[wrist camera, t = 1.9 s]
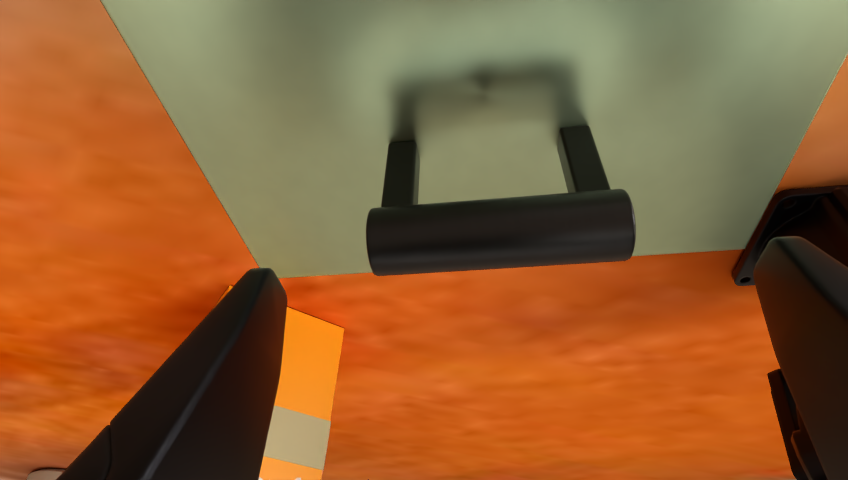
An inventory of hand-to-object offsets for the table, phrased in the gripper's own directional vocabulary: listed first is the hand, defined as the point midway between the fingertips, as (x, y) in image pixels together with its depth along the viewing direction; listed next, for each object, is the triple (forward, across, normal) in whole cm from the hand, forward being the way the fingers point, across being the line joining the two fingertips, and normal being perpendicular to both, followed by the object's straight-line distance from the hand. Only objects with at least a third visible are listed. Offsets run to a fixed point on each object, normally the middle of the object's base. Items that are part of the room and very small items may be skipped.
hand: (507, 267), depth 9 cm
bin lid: (+5, 0, -1) cm, 5 cm away
